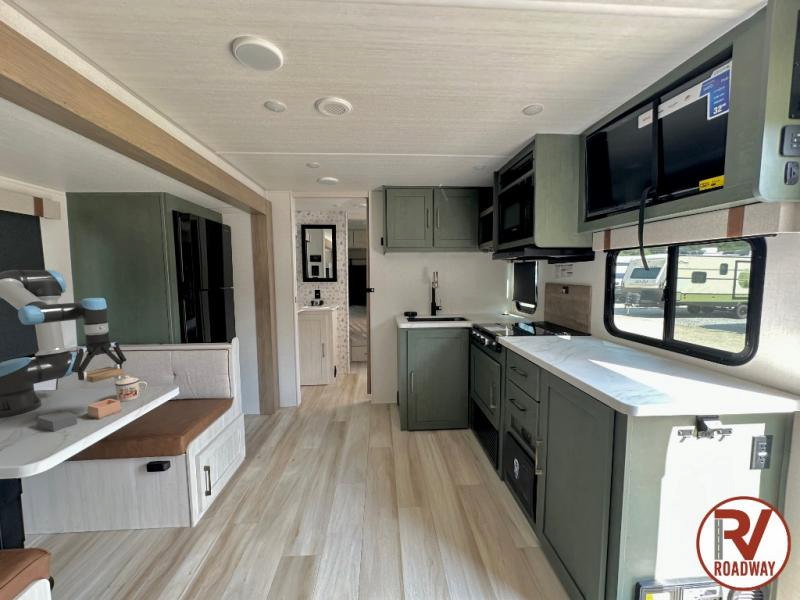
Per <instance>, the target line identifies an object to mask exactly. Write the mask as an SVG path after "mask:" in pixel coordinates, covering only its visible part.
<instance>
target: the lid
mask: <svg viewBox="0 0 800 600" xmlns="http://www.w3.org/2000/svg"><path fill="white" fill-rule="evenodd" d="M85 372H86V373H87V383H88V382H89V383H96V382H100V381H105V380H108V379H111V378H115V377H116V376H125V375H124V374H125V372H124V369H123V368H122V369H120V368H114V366H113V367H112V366H107V367H102V368H98V369H93V370H89V371H85ZM77 380H79V379H78V378H77ZM79 381H80V380H79Z"/></svg>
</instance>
